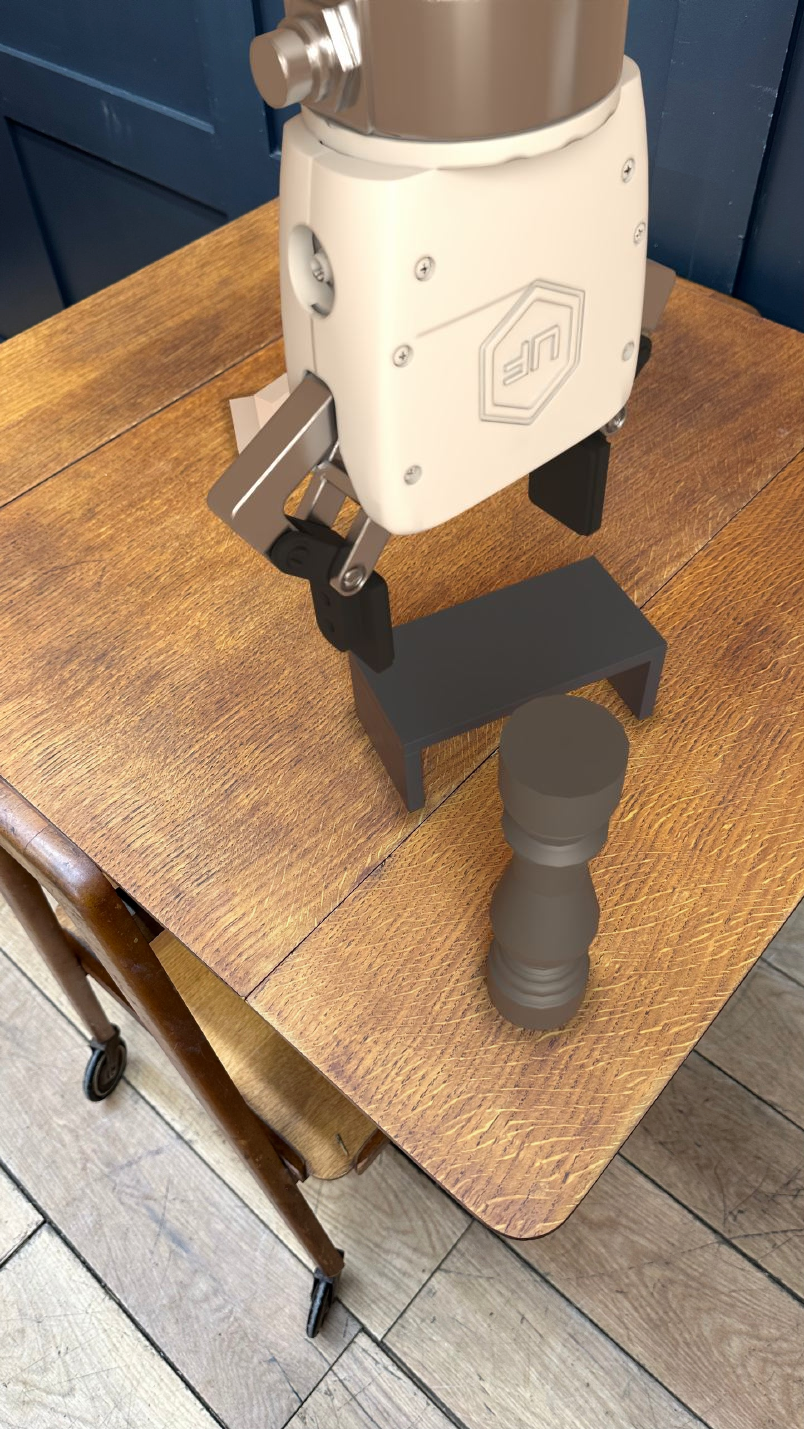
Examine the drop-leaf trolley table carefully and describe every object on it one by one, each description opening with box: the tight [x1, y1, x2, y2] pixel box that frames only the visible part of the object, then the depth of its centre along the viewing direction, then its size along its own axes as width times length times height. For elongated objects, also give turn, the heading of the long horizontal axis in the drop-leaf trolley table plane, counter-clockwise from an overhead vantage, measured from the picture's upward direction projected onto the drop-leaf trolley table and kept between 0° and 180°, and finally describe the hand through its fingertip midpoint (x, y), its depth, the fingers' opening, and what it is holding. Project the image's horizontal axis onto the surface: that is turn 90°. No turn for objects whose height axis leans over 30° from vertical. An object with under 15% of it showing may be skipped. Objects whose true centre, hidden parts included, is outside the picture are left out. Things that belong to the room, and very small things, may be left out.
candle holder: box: [486, 694, 631, 1032], centre depth 55 cm, size 6×6×25 cm
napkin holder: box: [229, 371, 290, 455], centre depth 100 cm, size 15×11×6 cm
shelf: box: [347, 555, 669, 814], centre depth 75 cm, size 20×10×8 cm, turn 114°
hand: (465, 578), depth 37 cm, fingers open, 9 cm apart
